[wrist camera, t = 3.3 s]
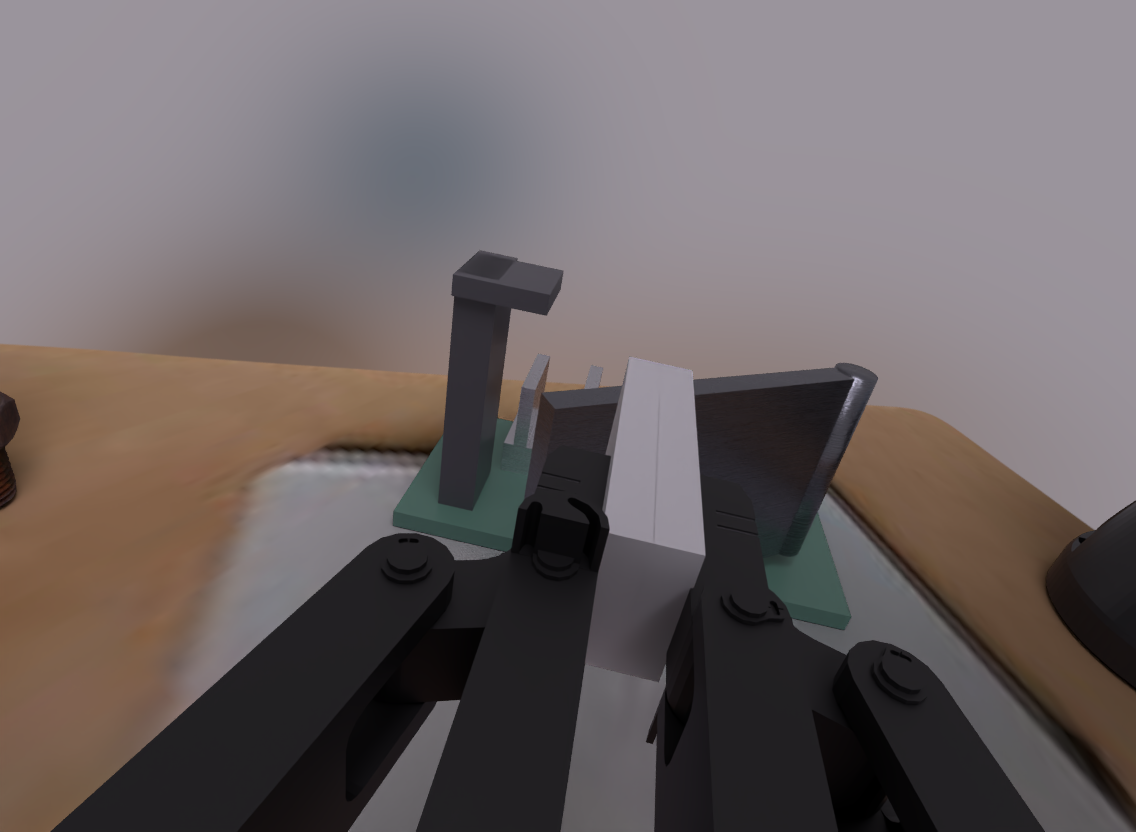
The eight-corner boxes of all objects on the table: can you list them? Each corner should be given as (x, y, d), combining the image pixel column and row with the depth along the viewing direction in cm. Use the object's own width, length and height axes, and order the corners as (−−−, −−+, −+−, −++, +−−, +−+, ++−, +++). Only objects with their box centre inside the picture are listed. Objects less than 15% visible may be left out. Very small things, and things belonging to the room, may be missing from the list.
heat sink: (746, 481, 43) (774, 404, 40) (754, 526, 39) (786, 444, 36) (517, 430, 44) (529, 351, 41) (500, 469, 40) (511, 384, 37)
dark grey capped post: (529, 481, 39) (565, 268, 32) (513, 526, 35) (549, 294, 28) (459, 465, 39) (479, 250, 33) (434, 508, 35) (452, 274, 29)
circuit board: (804, 498, 44) (809, 487, 44) (844, 630, 34) (851, 616, 33) (457, 421, 45) (458, 409, 45) (393, 525, 35) (393, 511, 35)
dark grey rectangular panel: (782, 530, 37) (854, 361, 32) (806, 552, 36) (886, 380, 30) (503, 597, 29) (537, 387, 24) (520, 630, 28) (559, 414, 22)
